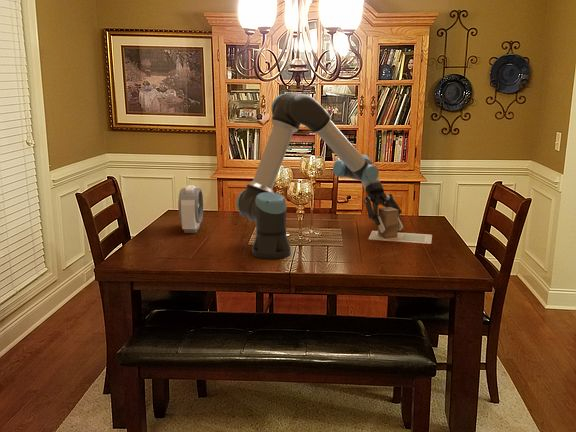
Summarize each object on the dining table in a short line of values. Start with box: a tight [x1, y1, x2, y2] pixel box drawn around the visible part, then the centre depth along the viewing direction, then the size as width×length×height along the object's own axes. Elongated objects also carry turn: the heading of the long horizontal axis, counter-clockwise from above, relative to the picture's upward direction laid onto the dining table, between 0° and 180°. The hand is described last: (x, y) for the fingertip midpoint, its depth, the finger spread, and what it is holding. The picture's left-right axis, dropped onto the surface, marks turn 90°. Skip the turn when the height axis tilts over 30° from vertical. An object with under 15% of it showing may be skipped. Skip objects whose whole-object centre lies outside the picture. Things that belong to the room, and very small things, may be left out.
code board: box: [367, 230, 433, 245], centre depth 250 cm, size 14×26×1 cm, turn 75°
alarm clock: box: [177, 184, 204, 234], centre depth 263 cm, size 18×8×20 cm, turn 179°
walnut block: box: [377, 206, 399, 239], centre depth 250 cm, size 6×6×12 cm
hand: (392, 229), depth 248 cm, fingers open, 8 cm apart
